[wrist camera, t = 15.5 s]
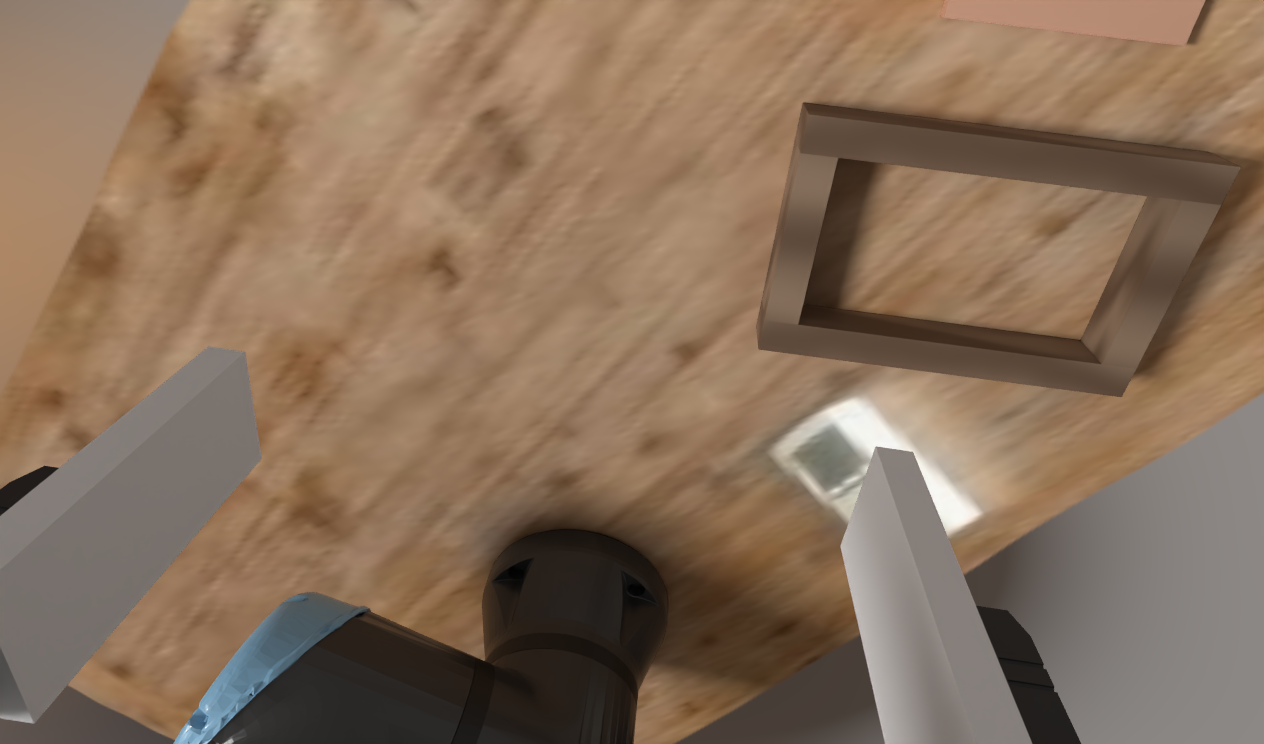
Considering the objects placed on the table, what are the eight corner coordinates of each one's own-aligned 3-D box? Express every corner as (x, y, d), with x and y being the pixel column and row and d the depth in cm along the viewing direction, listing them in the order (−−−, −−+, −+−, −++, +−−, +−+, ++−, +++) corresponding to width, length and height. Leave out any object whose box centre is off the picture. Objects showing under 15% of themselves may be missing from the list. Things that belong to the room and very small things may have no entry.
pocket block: (1099, 371, 48) (1121, 397, 45) (756, 326, 49) (758, 349, 46) (1207, 151, 41) (1241, 167, 38) (802, 102, 41) (808, 114, 39)
